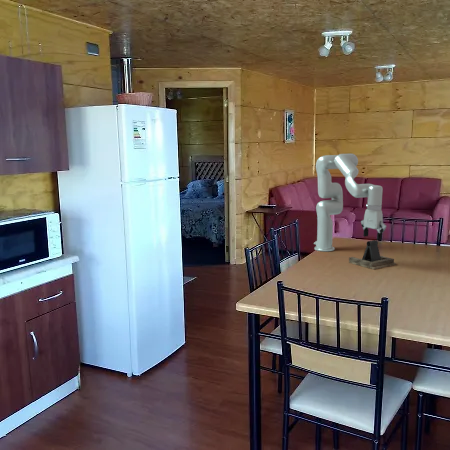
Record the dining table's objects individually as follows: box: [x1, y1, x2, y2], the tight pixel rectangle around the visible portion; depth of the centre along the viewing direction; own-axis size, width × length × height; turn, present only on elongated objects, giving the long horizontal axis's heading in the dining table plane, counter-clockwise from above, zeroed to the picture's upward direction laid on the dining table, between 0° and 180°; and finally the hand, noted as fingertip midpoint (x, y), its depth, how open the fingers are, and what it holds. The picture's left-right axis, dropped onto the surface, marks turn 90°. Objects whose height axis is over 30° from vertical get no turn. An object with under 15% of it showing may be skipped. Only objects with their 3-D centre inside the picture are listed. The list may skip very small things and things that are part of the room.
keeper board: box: [348, 255, 397, 270], centre depth 266 cm, size 18×18×7 cm
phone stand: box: [361, 239, 381, 262], centre depth 266 cm, size 9×6×12 cm, turn 32°
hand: (372, 237), depth 264 cm, fingers open, 9 cm apart
